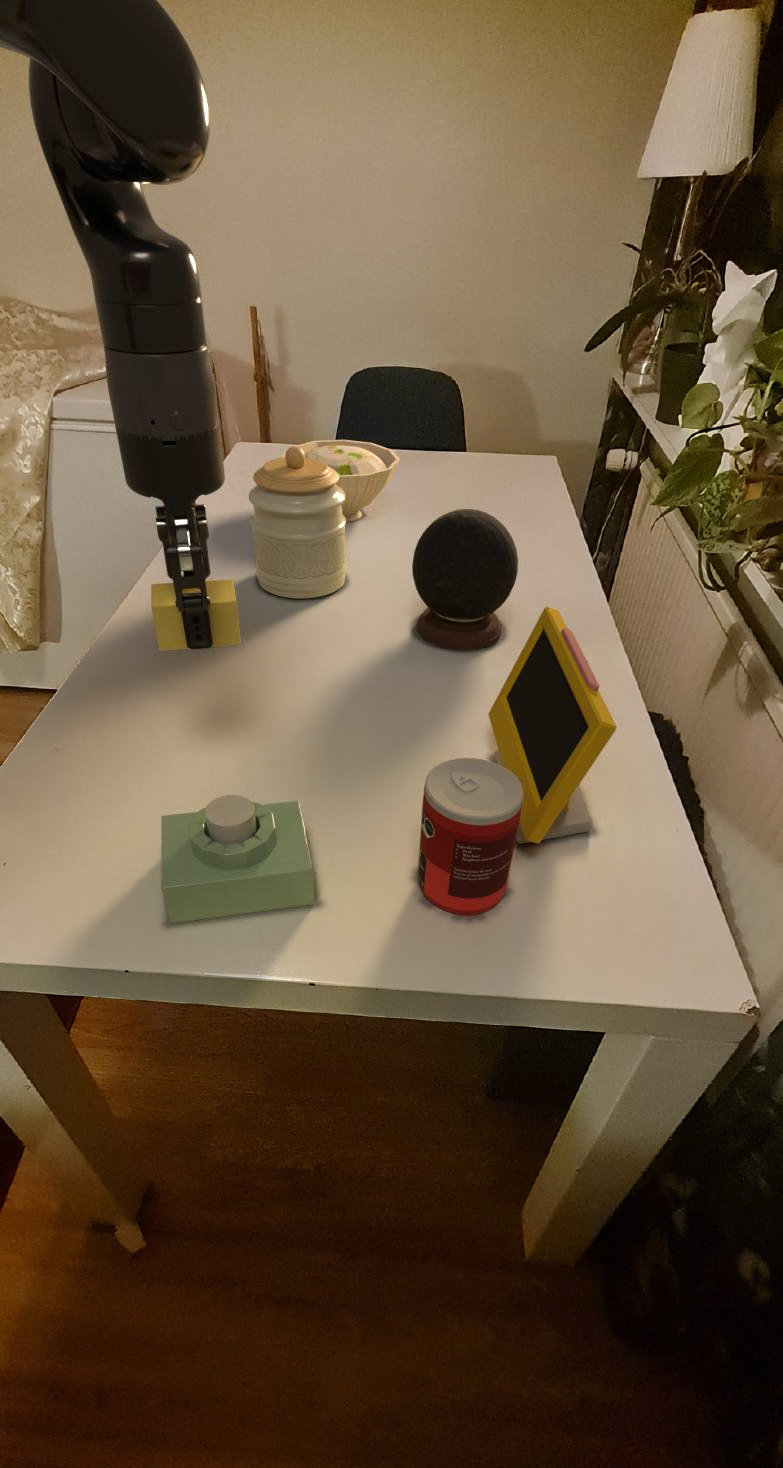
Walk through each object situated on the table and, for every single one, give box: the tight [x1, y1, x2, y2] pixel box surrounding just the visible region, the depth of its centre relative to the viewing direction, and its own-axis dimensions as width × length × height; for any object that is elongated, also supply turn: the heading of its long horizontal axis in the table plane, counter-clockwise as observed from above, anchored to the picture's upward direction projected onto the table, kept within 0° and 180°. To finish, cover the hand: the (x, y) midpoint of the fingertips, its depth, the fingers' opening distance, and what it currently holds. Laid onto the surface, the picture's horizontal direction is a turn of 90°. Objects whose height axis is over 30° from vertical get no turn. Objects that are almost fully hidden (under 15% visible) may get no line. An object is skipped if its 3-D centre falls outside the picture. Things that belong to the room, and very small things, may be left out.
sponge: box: [150, 578, 242, 651], centre depth 67 cm, size 7×4×4 cm, turn 103°
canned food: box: [417, 757, 523, 916], centre depth 64 cm, size 8×8×11 cm
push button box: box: [160, 800, 315, 924], centre depth 66 cm, size 12×9×6 cm
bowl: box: [280, 439, 401, 523], centre depth 127 cm, size 19×19×10 cm
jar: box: [248, 445, 348, 599], centre depth 105 cm, size 13×13×18 cm
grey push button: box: [204, 794, 257, 845], centre depth 63 cm, size 4×4×2 cm
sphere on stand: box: [411, 508, 519, 652], centre depth 97 cm, size 13×13×15 cm
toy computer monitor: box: [487, 606, 618, 845], centre depth 71 cm, size 20×8×16 cm, turn 4°
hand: (198, 632), depth 68 cm, fingers closed on sponge, 4 cm apart
